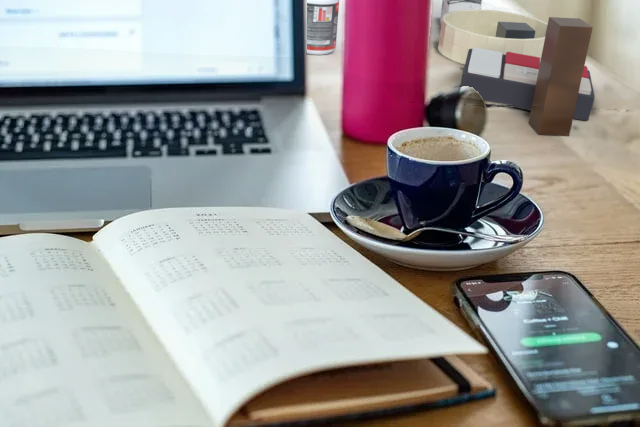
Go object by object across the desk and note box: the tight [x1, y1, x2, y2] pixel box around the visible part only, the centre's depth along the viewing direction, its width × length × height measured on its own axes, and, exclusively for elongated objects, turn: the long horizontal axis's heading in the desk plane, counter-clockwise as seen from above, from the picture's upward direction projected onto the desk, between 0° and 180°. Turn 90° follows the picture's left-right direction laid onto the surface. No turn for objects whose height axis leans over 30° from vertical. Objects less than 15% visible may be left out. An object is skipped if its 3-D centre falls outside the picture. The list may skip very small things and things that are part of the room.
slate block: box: [496, 22, 535, 39], centre depth 119 cm, size 4×4×4 cm
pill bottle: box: [306, 0, 340, 56], centre depth 116 cm, size 6×6×10 cm
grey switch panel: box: [459, 47, 595, 122], centre depth 105 cm, size 11×4×15 cm
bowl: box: [437, 9, 548, 66], centre depth 119 cm, size 15×15×5 cm
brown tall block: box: [528, 16, 594, 137], centre depth 94 cm, size 4×4×12 cm
